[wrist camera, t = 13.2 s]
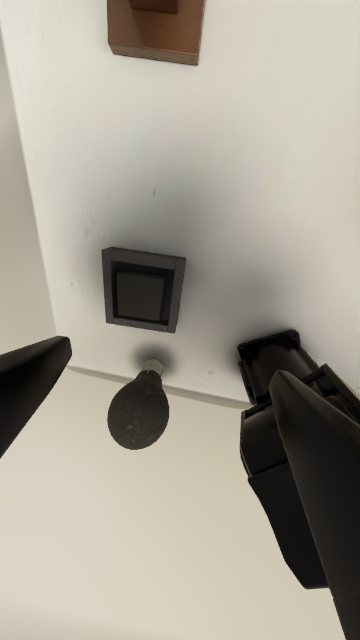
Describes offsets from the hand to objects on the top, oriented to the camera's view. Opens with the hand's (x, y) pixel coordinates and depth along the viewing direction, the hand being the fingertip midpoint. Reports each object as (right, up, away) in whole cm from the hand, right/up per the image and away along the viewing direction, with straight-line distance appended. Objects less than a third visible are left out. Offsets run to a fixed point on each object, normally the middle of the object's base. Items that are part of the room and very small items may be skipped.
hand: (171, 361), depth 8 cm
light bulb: (-3, -4, +16) cm, 17 cm away
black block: (-3, +5, +10) cm, 12 cm away
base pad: (-3, +5, +11) cm, 13 cm away
